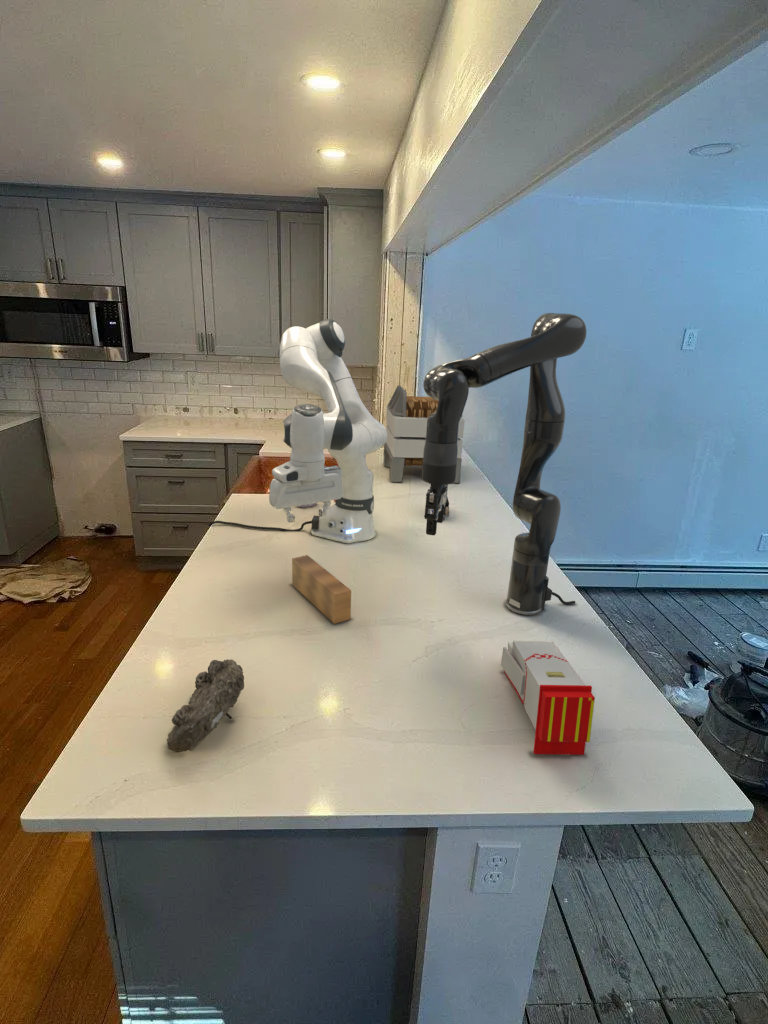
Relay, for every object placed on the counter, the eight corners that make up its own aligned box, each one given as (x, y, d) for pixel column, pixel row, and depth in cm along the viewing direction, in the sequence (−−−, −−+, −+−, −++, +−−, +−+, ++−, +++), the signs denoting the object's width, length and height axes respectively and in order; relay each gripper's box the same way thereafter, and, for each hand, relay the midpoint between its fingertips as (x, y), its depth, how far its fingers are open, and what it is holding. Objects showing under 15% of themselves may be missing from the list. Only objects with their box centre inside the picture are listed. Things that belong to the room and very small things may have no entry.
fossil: (192, 660, 117) (244, 628, 112) (224, 691, 120) (276, 661, 115) (142, 746, 98) (202, 712, 93) (182, 779, 101) (242, 748, 96)
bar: (292, 584, 160) (291, 558, 157) (307, 581, 163) (307, 554, 160) (334, 624, 142) (334, 594, 139) (350, 619, 144) (351, 590, 141)
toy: (549, 624, 127) (604, 693, 98) (544, 678, 130) (596, 762, 100) (496, 622, 127) (535, 692, 97) (491, 677, 129) (528, 761, 100)
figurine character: (449, 525, 213) (445, 507, 227) (451, 507, 210) (447, 490, 224) (431, 524, 213) (428, 507, 227) (433, 506, 210) (430, 490, 223)
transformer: (382, 463, 289) (386, 382, 275) (445, 464, 293) (451, 384, 279) (390, 482, 257) (394, 392, 243) (460, 483, 261) (468, 394, 247)
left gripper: (336, 461, 155) (334, 509, 160) (266, 470, 144) (267, 521, 148) (348, 467, 150) (346, 516, 155) (276, 477, 139) (277, 529, 144)
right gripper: (451, 470, 118) (445, 541, 124) (461, 454, 131) (455, 520, 137) (416, 466, 120) (411, 536, 126) (429, 451, 133) (425, 516, 139)
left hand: (307, 518), depth 151 cm, fingers open, 8 cm apart
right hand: (434, 528), depth 131 cm, fingers open, 8 cm apart
